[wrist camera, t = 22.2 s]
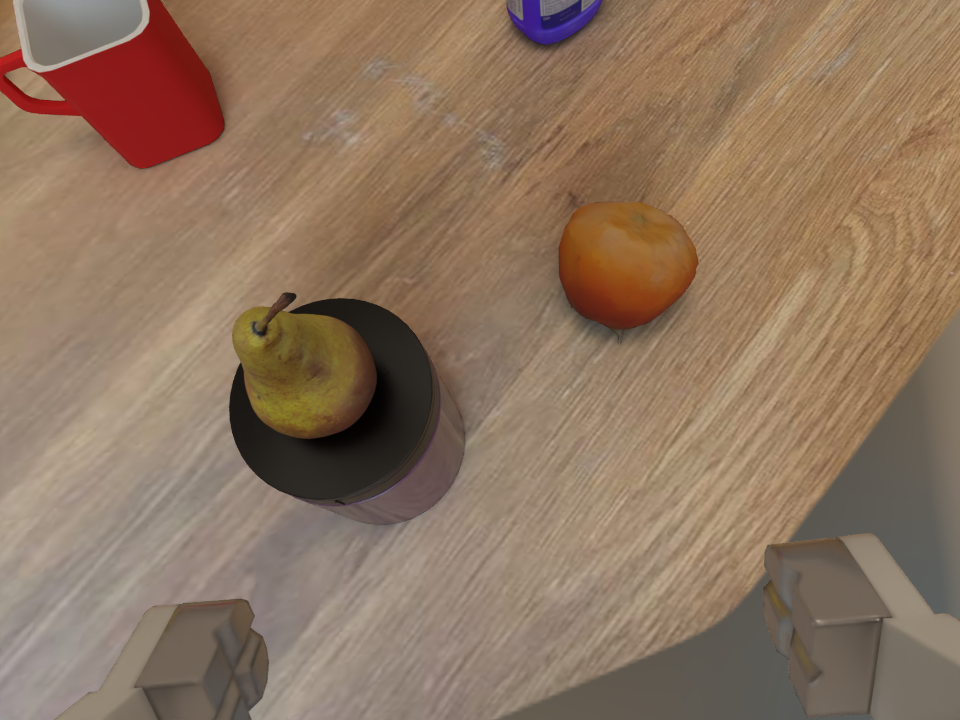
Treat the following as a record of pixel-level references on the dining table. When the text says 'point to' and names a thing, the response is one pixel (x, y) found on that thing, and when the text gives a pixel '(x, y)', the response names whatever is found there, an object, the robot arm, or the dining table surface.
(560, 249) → the fruit
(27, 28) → the mug
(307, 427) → the fruit
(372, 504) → the jar
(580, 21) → the bottle
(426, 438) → the jar lid
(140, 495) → the dining table surface
